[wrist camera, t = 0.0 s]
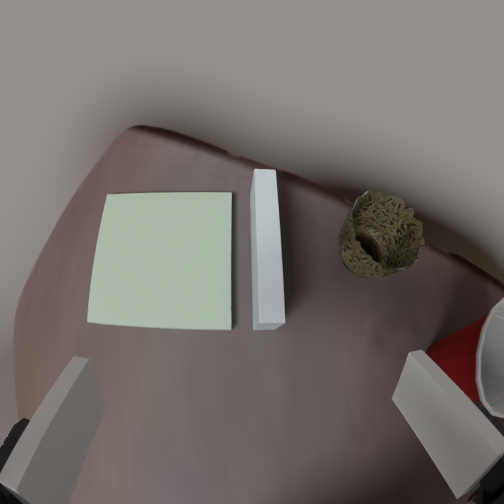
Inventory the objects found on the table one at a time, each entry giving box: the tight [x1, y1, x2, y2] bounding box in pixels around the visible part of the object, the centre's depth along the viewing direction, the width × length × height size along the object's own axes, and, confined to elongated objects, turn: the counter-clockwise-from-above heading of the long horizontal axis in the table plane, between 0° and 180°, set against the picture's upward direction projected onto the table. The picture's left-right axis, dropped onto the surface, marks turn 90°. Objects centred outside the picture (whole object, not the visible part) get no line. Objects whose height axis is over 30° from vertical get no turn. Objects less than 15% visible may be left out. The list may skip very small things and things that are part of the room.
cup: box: [339, 190, 425, 278], centre depth 26 cm, size 8×7×8 cm
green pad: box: [87, 192, 232, 330], centre depth 27 cm, size 14×14×1 cm
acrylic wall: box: [250, 169, 285, 330], centre depth 26 cm, size 14×2×5 cm, turn 1°
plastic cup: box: [426, 298, 504, 418], centre depth 20 cm, size 11×11×12 cm
